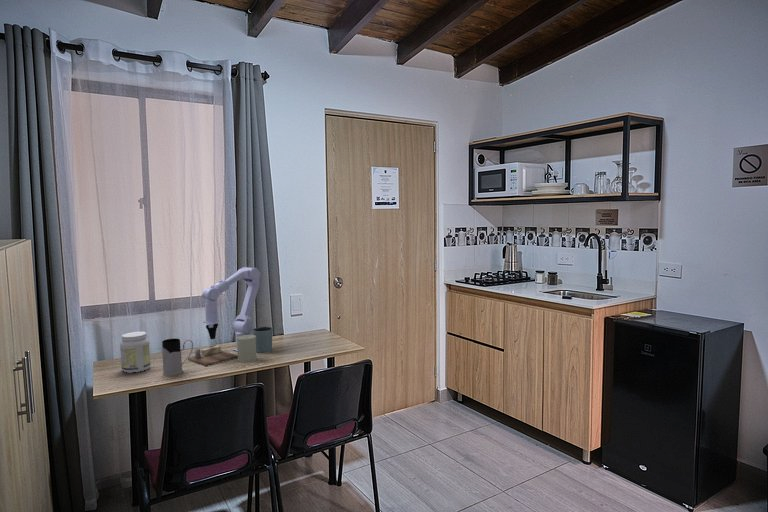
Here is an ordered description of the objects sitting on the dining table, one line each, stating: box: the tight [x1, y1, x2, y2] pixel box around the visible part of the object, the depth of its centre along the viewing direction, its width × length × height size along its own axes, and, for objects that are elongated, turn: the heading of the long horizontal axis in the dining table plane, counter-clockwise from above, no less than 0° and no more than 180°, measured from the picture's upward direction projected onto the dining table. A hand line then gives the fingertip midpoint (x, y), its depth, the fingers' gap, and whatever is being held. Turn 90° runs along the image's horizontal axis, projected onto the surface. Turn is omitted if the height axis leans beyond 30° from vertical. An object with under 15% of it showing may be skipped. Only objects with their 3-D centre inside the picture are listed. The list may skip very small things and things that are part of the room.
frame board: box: [187, 344, 238, 367], centre depth 245 cm, size 18×17×5 cm
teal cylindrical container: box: [252, 326, 274, 354], centre depth 257 cm, size 10×10×12 cm
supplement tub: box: [119, 331, 152, 374], centre depth 230 cm, size 12×12×17 cm
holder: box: [161, 338, 194, 377], centre depth 226 cm, size 9×14×15 cm, turn 134°
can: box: [237, 335, 258, 363], centre depth 242 cm, size 9×9×12 cm
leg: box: [200, 345, 222, 356], centre depth 250 cm, size 10×2×3 cm, turn 140°
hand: (212, 338), depth 245 cm, fingers closed
